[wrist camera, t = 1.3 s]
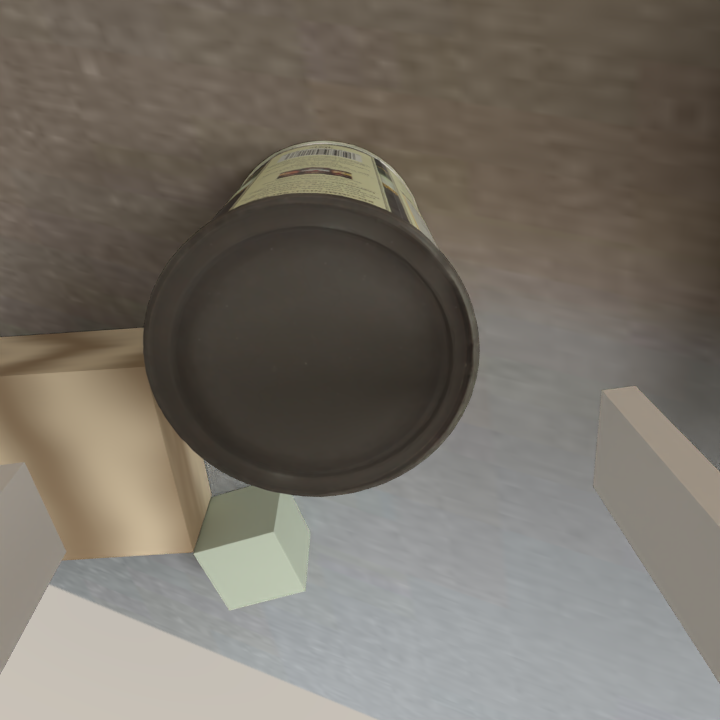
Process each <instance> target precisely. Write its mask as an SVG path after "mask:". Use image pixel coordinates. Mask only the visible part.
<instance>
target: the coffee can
mask: <svg viewBox="0 0 720 720" xmlns="http://www.w3.org/2000/svg"><path fill="white" fill-rule="evenodd" d="M479 352H480V349H479V335H478V327H477V322H476V318H475V314H474V310H473V307H472V303H471V301H470V298H469V295H468V293H467V291H466V289H465V287H464V285H463V283H462V281H461V279H460V277H459V276H458V274H457V272H456V271H455V269H454V268H453V266H452V265H451V264H450V262H449V261H448V260H447V258H446V257H445V256H444V254H443V253H442V252H441V251H440V250H439V249H438V247H437V245H436V243H435V241H434V239H433V237H432V235H431V233H430V231H429V229H428V227H427V225H426V223H425V221H424V220H423V218H422V216H421V214H420V213H419V210H418V207H417V205H416V202H415V199H414V196H413V195H412V193H411V191H410V190H409V188H408V187H407V185H406V184H405V182H404V180H403V179H402V178H401V177H400V176H399V175H398V173H397V172H396V171H395V170H394V169H393V168H392V167H391V166H390V165H388V164H387V163H386V162H385V161H383V160H382V159H381V158H379V157H377V156H376V155H374V154H373V153H371V152H369V151H367V150H365V149H363V148H360V147H357V146H356V145H351V144H347V143H342V142H335V141H313V142H306V143H301V144H297V145H293V146H290V147H288V148H285V149H283V150H281V151H279V152H276V153H274V154H273V155H271V156H270V157H268V158H267V159H266V160H265V161H263V162H262V163H261V164H259V165H258V166H257V167H256V168H255V169H254V170H253V171H252V173H251V174H250V175H249V176H248V177H247V179H246V180H245V181H244V183H243V184H242V186H241V188H240V189H239V190H238V191H237V192H236V193H235V194H234V196H233V197H232V198H231V199H230V200H229V201H228V202H227V204H226V205H225V206H224V207H223V208H222V209H221V210H220V211H219V212H218V213H217V215H216V216H215V217H214V218H213V219H212V221H211V222H209V223H208V224H206V225H205V226H204V227H202V228H201V229H200V230H199V231H197V232H196V233H195V234H194V235H193V236H192V237H191V238H189V239H188V240H187V241H186V242H185V243H184V244H183V245H182V246H181V247H180V248H179V250H178V251H177V252H176V253H175V254H174V256H173V257H172V258H171V259H170V260H169V262H168V263H167V265H166V267H165V268H164V270H163V271H162V273H161V275H160V277H159V279H158V281H157V283H156V285H155V286H154V289H153V291H152V294H151V297H150V300H149V303H148V306H147V311H146V317H145V322H144V331H143V355H144V363H145V370H146V374H147V378H148V381H149V384H150V388H151V391H152V393H153V395H154V398H155V400H156V402H157V404H158V406H159V408H160V409H161V411H162V413H163V415H164V416H165V418H166V419H167V421H168V422H169V423H170V425H171V426H172V428H173V429H174V430H175V431H176V433H177V434H178V435H179V437H180V438H181V439H182V440H183V441H184V442H186V443H187V445H188V446H189V447H190V448H191V449H192V450H193V451H194V452H195V453H196V454H198V455H199V456H200V457H201V458H203V459H204V460H205V461H207V462H208V463H209V464H211V465H212V466H214V467H215V468H217V469H218V470H220V471H221V472H223V473H225V474H227V475H229V476H231V477H233V478H235V479H237V480H239V481H242V482H244V483H247V484H250V485H253V486H255V487H258V488H261V489H264V490H267V491H272V492H277V493H282V494H288V495H299V496H312V497H324V496H336V495H343V494H349V493H354V492H359V491H362V490H365V489H369V488H372V487H375V486H378V485H381V484H384V483H386V482H388V481H390V480H392V479H394V478H397V477H399V476H401V475H402V474H404V473H406V472H407V471H409V470H411V469H412V468H414V467H415V466H417V465H418V464H419V463H421V462H422V461H423V460H425V459H426V458H427V457H429V456H430V455H431V454H432V453H433V452H434V451H435V450H436V449H437V448H438V447H439V446H440V445H441V444H442V443H443V442H444V441H445V439H446V438H447V437H448V436H449V435H450V434H451V432H452V431H453V429H454V428H455V426H456V425H457V423H458V421H459V420H460V418H461V417H462V415H463V413H464V411H465V409H466V407H467V405H468V403H469V400H470V398H471V395H472V392H473V388H474V385H475V381H476V377H477V371H478V365H479Z"/></svg>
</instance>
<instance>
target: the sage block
mask: <svg viewBox="0 0 720 720" xmlns="http://www.w3.org/2000/svg"><path fill="white" fill-rule="evenodd" d="M309 543H310V531H309V529H308V527H307V525H306V523H305V521H304V519H303V517H302V515H301V513H300V511H299V509H298V507H297V505H296V503H295V501H294V499H293V497H292V495H288V494H282V493H277V492H272V491H267V490H264V489H261V488H258V487H255V486H253V485H252V486H249V487H245V488H242V489H238V490H235V491H231V492H228V493H224V494H221V495H217V496H214V497H211V500H210V503H209V506H208V510H207V513H206V516H205V519H204V522H203V525H202V528H201V531H200V534H199V537H198V541H197V544H196V547H195V550H194V553H193V554H194V556H195V557H196V559H197V560H198V562H199V563H200V565H201V567H202V568H203V570H204V571H205V573H206V574H207V576H208V578H209V579H210V581H211V582H212V584H213V585H214V587H215V589H216V590H217V592H218V593H219V595H220V596H221V598H222V600H223V601H224V603H225V604H226V606H227V607H228V609H229V611H230V610H233V609H237V608H241V607H245V606H249V605H253V604H257V603H261V602H264V601H268V600H272V599H276V598H280V597H284V596H288V595H292V594H296V593H299V592H303V591H306V579H307V567H308V555H309Z"/></svg>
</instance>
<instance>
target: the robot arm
mask: <svg viewBox="0 0 720 720" xmlns="http://www.w3.org/2000/svg"><path fill="white" fill-rule="evenodd" d="M593 487H594V489H595V490H596V492H597V493H598V495H599V496H600V498H601V500H602V501H603V503H604V504H605V506H606V507H607V509H608V510H609V512H610V514H611V515H612V517H613V518H614V520H615V521H616V523H617V524H618V526H619V528H620V529H621V531H622V532H623V534H624V535H625V537H626V539H627V540H628V542H629V543H630V545H631V546H632V548H633V549H634V551H635V553H636V554H637V556H638V557H639V559H640V560H641V562H642V563H643V565H644V567H645V568H646V570H647V571H648V573H649V574H650V576H651V577H652V579H653V581H654V582H655V584H656V585H657V587H658V588H659V590H660V592H661V593H662V595H663V596H664V598H665V599H666V601H667V602H668V604H669V606H670V607H671V609H672V610H673V612H674V613H675V615H676V616H677V618H678V620H679V621H680V623H681V624H682V626H683V627H684V629H685V630H686V632H687V634H688V635H689V637H690V638H691V640H692V641H693V643H694V645H695V646H696V648H697V649H698V651H699V652H700V654H701V655H702V657H703V659H704V660H705V662H706V663H707V665H708V666H709V668H710V669H711V671H712V673H713V674H714V676H715V677H716V679H717V680H718V682H719V683H720V472H719V471H718V470H717V469H716V468H715V467H714V466H713V465H712V464H711V463H710V461H709V460H708V459H707V458H706V457H705V456H704V455H703V454H702V453H701V452H700V451H699V450H698V449H697V448H696V447H695V446H694V445H693V444H692V443H691V442H690V441H689V440H688V439H687V438H686V437H685V436H684V435H683V434H682V433H681V432H680V431H679V430H678V429H677V428H676V427H675V426H674V425H673V424H672V423H671V422H670V421H669V420H668V419H667V418H666V417H665V416H664V415H663V414H662V412H661V411H660V410H659V409H658V408H657V407H656V406H655V405H654V404H653V403H652V402H651V401H650V400H649V399H648V398H647V397H646V396H645V395H644V394H643V393H642V392H641V391H640V390H639V389H638V388H637V387H636V386H631V387H623V388H615V389H607V390H602V392H601V403H600V414H599V426H598V437H597V448H596V459H595V470H594V481H593ZM65 553H66V550H65V548H64V545H63V543H62V541H61V539H60V537H59V535H58V533H57V530H56V528H55V526H54V524H53V522H52V520H51V518H50V515H49V513H48V511H47V509H46V507H45V505H44V503H43V500H42V498H41V496H40V494H39V492H38V490H37V488H36V486H35V483H34V481H33V479H32V477H31V475H30V473H29V471H28V468H27V466H26V464H25V462H21V463H13V464H5V465H0V674H1V672H2V670H3V668H4V667H5V665H6V663H7V661H8V659H9V657H10V655H11V653H12V652H13V650H14V648H15V646H16V644H17V642H18V641H19V639H20V637H21V635H22V633H23V631H24V629H25V627H26V626H27V624H28V622H29V620H30V618H31V616H32V615H33V613H34V611H35V609H36V607H37V605H38V603H39V602H40V600H41V598H42V596H43V594H44V592H45V590H46V588H47V587H48V585H49V583H50V581H51V579H52V577H53V576H54V574H55V572H56V570H57V568H58V566H59V564H60V563H61V561H62V559H63V557H64V555H65Z"/></svg>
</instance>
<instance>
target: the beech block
mask: <svg viewBox="0 0 720 720" xmlns="http://www.w3.org/2000/svg"><path fill="white" fill-rule="evenodd" d="M143 331H144V328H130V329H115V330H100V331H85V332H70V333H56V334H41V335H26V336H11V337H0V465H5V464H13V463H21V462H25V464H26V466H27V468H28V471H29V473H30V475H31V477H32V479H33V481H34V483H35V486H36V488H37V490H38V492H39V494H40V496H41V498H42V500H43V503H44V505H45V507H46V509H47V511H48V513H49V515H50V518H51V520H52V522H53V524H54V526H55V528H56V530H57V533H58V535H59V537H60V539H61V541H62V543H63V545H64V548H65V550H66V553H65V555H64V557H63V559H62V560H76V559H93V558H109V557H125V556H141V555H157V554H173V553H189V552H193V551H194V548H195V545H196V542H197V539H198V536H199V532H200V529H201V526H202V523H203V520H204V517H205V514H206V511H207V508H208V504H209V501H210V498H211V490H210V486H209V481H208V477H207V473H206V468H205V464H204V460H203V458H201V457H200V456H199V455H198V454H196V453H195V452H194V451H193V450H192V449H191V448H190V447H189V446H188V445H187V443H186V442H184V441H183V440H182V439H181V438H180V437H179V435H178V434H177V433H176V431H175V430H174V429H173V428H172V426H171V425H170V423H169V422H168V421H167V419H166V418H165V416H164V415H163V413H162V411H161V409H160V408H159V406H158V404H157V402H156V400H155V398H154V395H153V393H152V391H151V388H150V384H149V381H148V378H147V374H146V370H145V363H144V355H143Z"/></svg>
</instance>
